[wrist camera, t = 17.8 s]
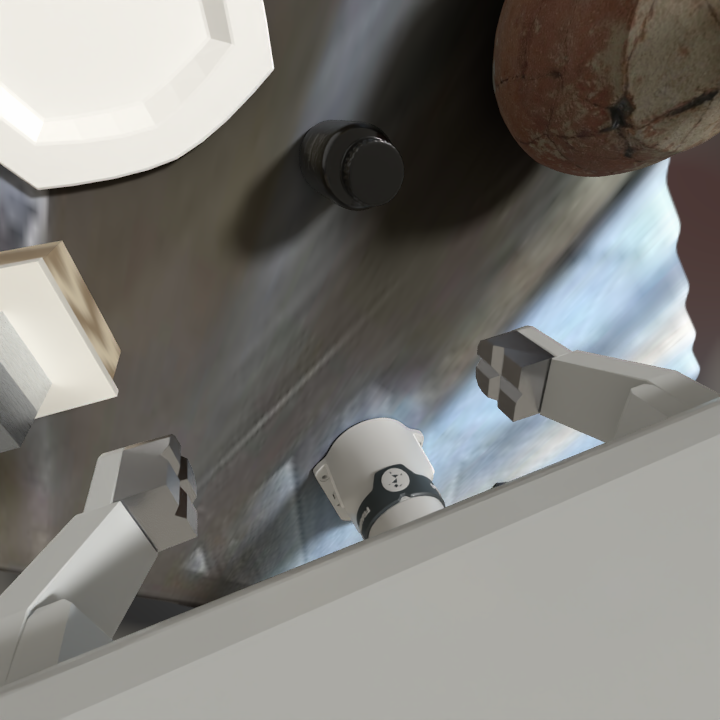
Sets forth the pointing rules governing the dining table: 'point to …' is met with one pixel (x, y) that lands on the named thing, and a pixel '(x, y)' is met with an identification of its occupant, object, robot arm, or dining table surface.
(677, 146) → the jug
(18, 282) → the stand
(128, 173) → the plate
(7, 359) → the block
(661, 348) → the dining table surface
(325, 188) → the supplement bottle
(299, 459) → the dining table surface
